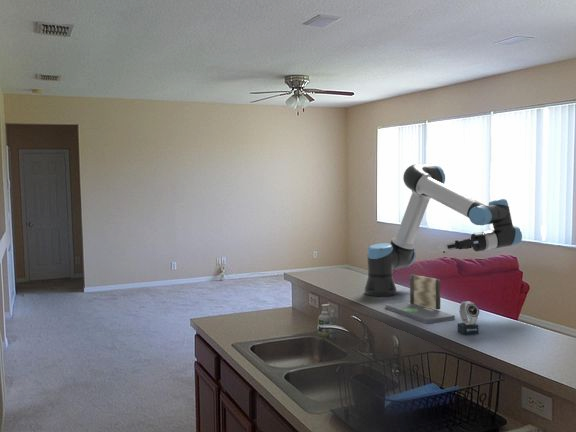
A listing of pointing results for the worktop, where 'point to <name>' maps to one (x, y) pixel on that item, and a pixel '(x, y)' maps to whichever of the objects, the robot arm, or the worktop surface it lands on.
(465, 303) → the watch
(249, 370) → the worktop surface
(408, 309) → the grey rectangular base plate
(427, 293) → the beige upright panel
